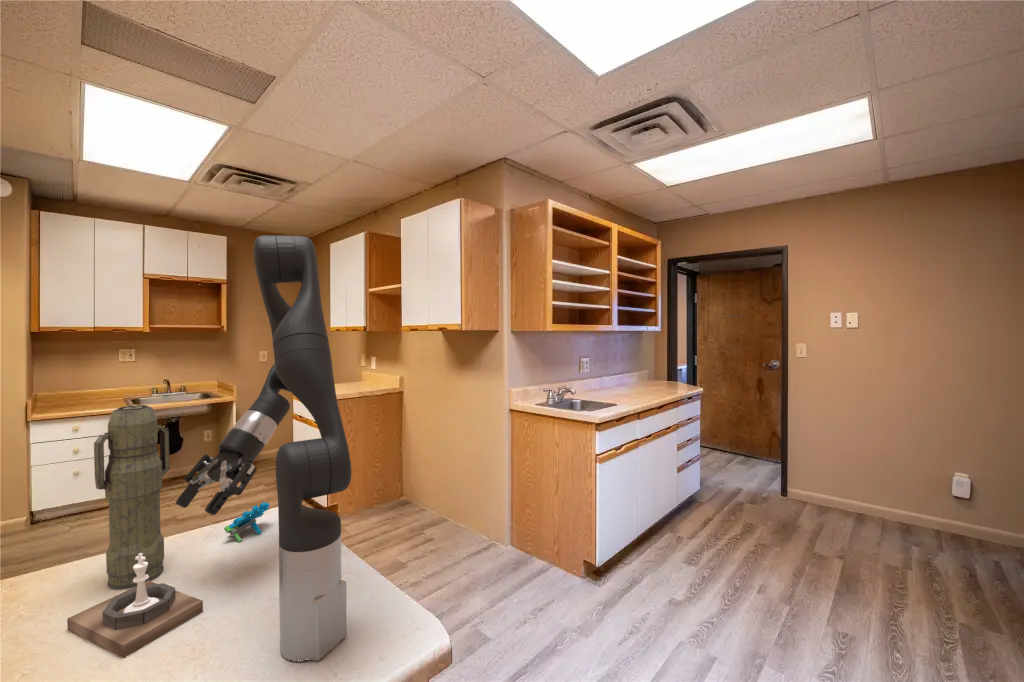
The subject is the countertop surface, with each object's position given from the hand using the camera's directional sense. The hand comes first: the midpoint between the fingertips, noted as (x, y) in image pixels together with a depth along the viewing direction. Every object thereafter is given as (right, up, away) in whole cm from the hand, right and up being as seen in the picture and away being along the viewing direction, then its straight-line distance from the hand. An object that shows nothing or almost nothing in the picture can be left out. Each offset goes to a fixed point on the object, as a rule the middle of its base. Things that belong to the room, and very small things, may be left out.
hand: (194, 509), depth 84 cm
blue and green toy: (-5, -16, +25) cm, 30 cm away
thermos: (-16, -16, +6) cm, 23 cm away
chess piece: (-3, -15, -8) cm, 17 cm away
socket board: (-4, -17, -8) cm, 19 cm away
